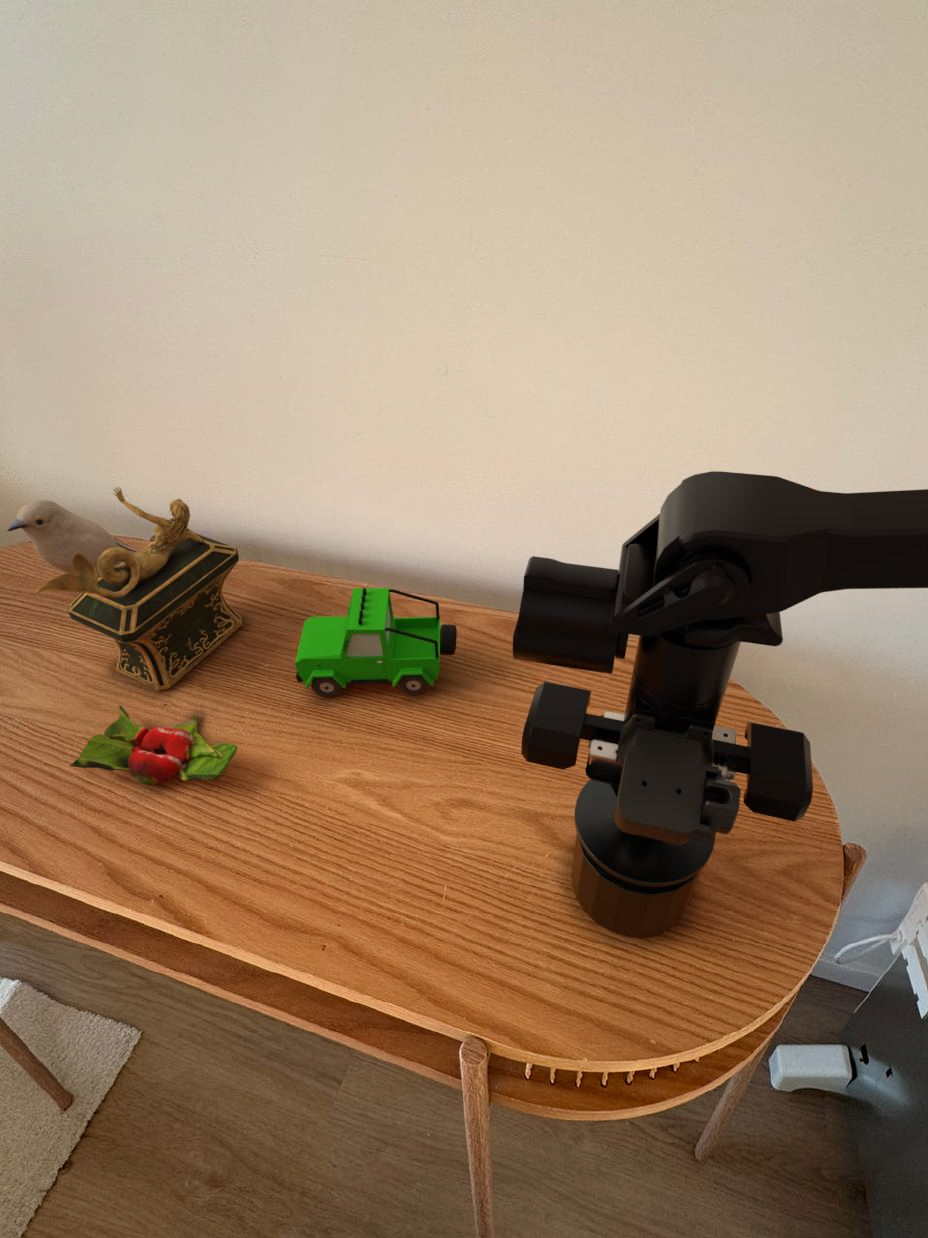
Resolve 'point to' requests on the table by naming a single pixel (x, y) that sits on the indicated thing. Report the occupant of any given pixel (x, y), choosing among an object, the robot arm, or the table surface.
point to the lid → (632, 844)
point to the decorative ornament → (155, 751)
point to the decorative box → (156, 598)
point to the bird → (64, 535)
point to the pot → (627, 899)
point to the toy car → (373, 646)
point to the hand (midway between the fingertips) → (644, 815)
